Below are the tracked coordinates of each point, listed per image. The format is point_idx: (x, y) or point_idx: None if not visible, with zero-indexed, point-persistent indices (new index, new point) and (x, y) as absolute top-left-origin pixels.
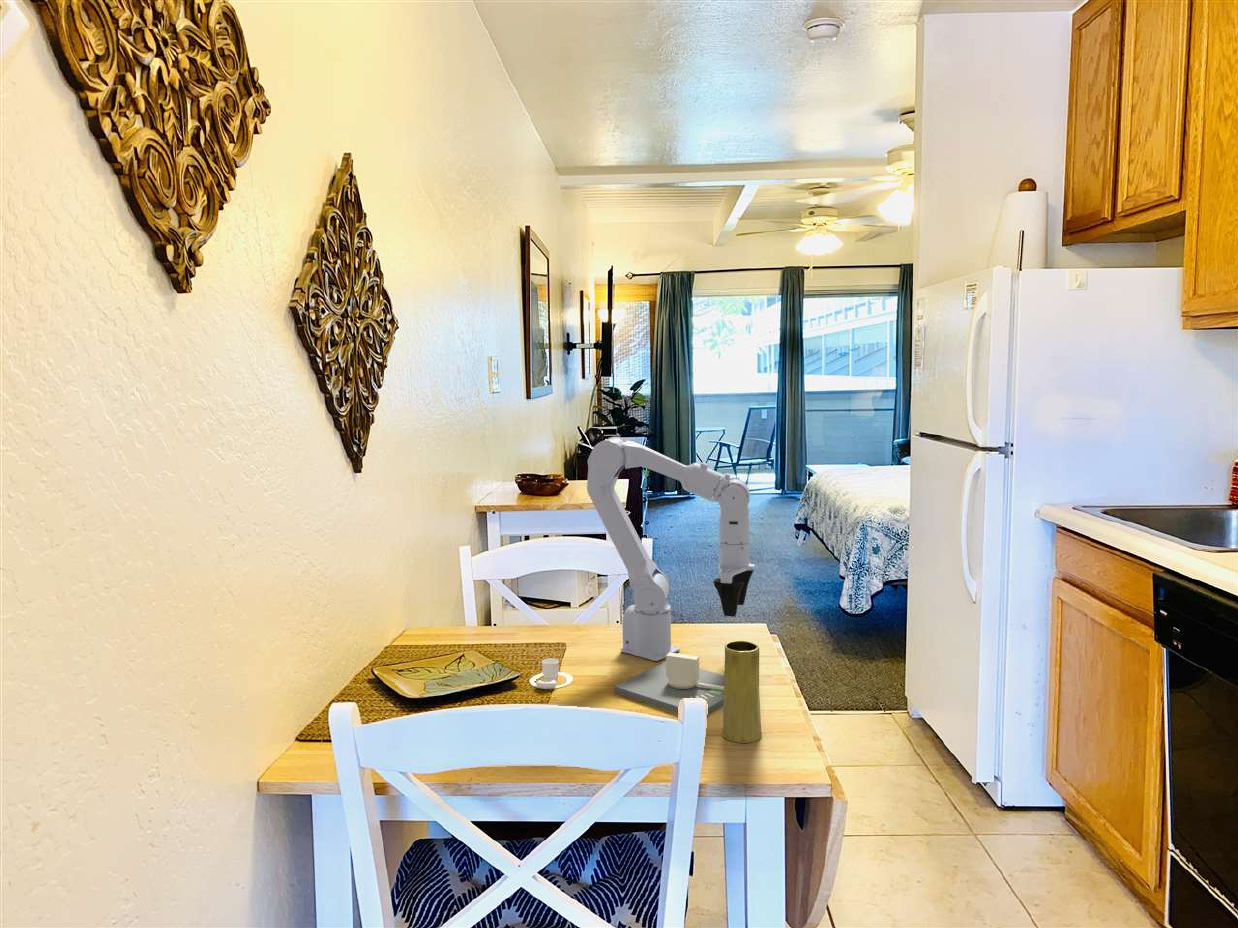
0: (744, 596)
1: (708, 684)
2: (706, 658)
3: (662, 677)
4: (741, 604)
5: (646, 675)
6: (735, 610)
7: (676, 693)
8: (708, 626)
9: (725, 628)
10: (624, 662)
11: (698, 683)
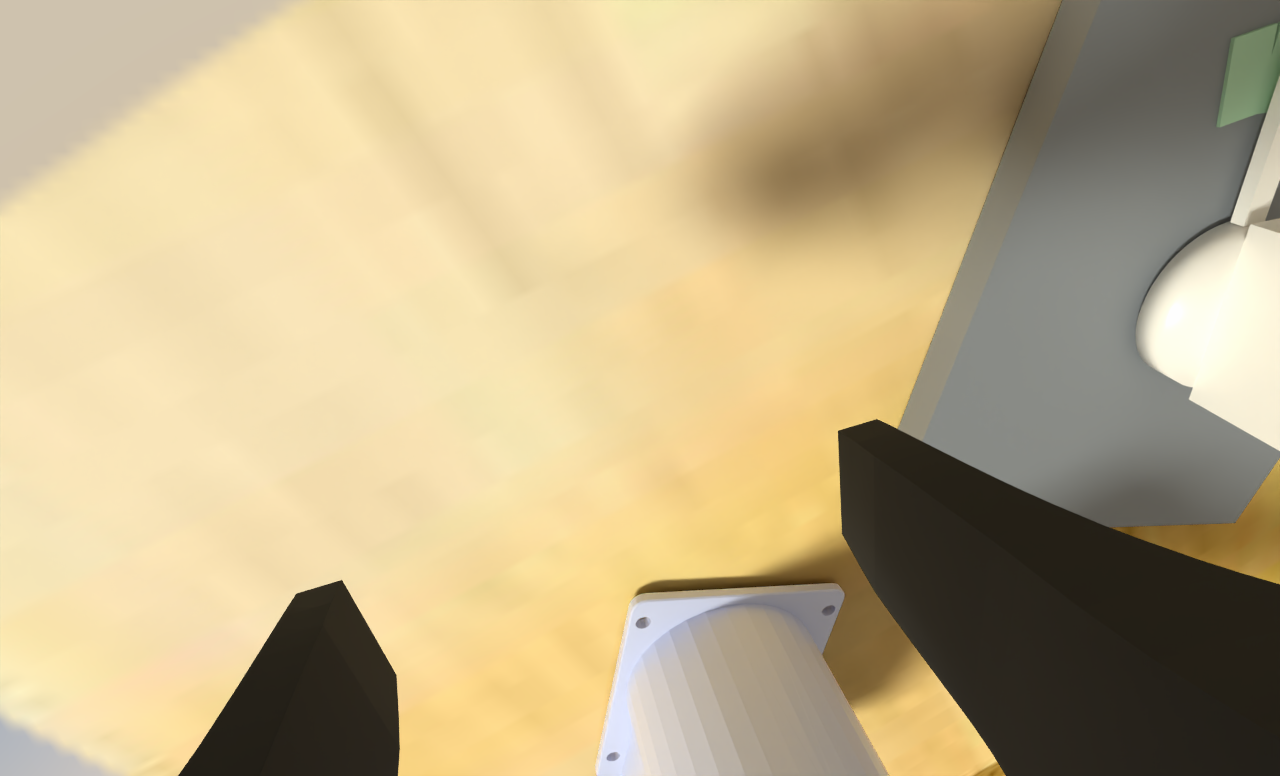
0: (306, 681)
1: (1278, 143)
2: (669, 426)
3: (1121, 428)
4: (346, 602)
5: (1105, 497)
6: (943, 454)
7: None
8: (83, 722)
9: (7, 635)
10: (885, 663)
11: (1263, 206)
